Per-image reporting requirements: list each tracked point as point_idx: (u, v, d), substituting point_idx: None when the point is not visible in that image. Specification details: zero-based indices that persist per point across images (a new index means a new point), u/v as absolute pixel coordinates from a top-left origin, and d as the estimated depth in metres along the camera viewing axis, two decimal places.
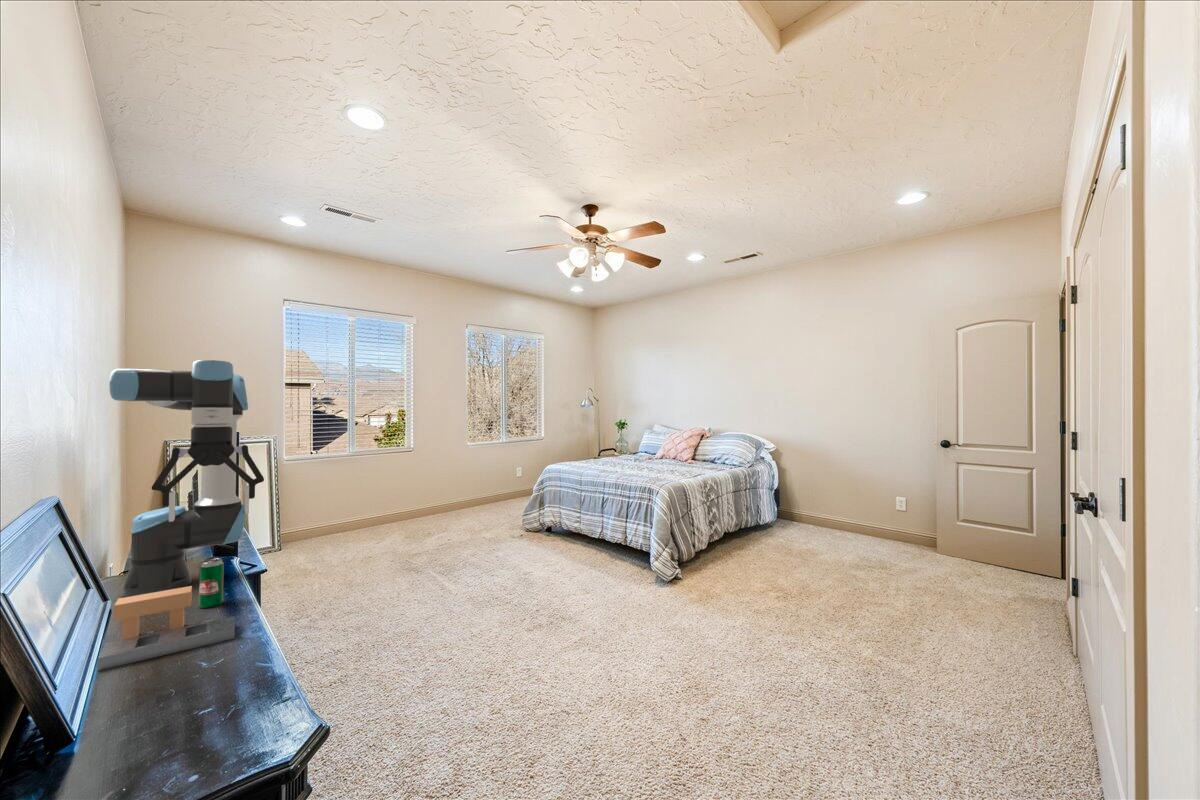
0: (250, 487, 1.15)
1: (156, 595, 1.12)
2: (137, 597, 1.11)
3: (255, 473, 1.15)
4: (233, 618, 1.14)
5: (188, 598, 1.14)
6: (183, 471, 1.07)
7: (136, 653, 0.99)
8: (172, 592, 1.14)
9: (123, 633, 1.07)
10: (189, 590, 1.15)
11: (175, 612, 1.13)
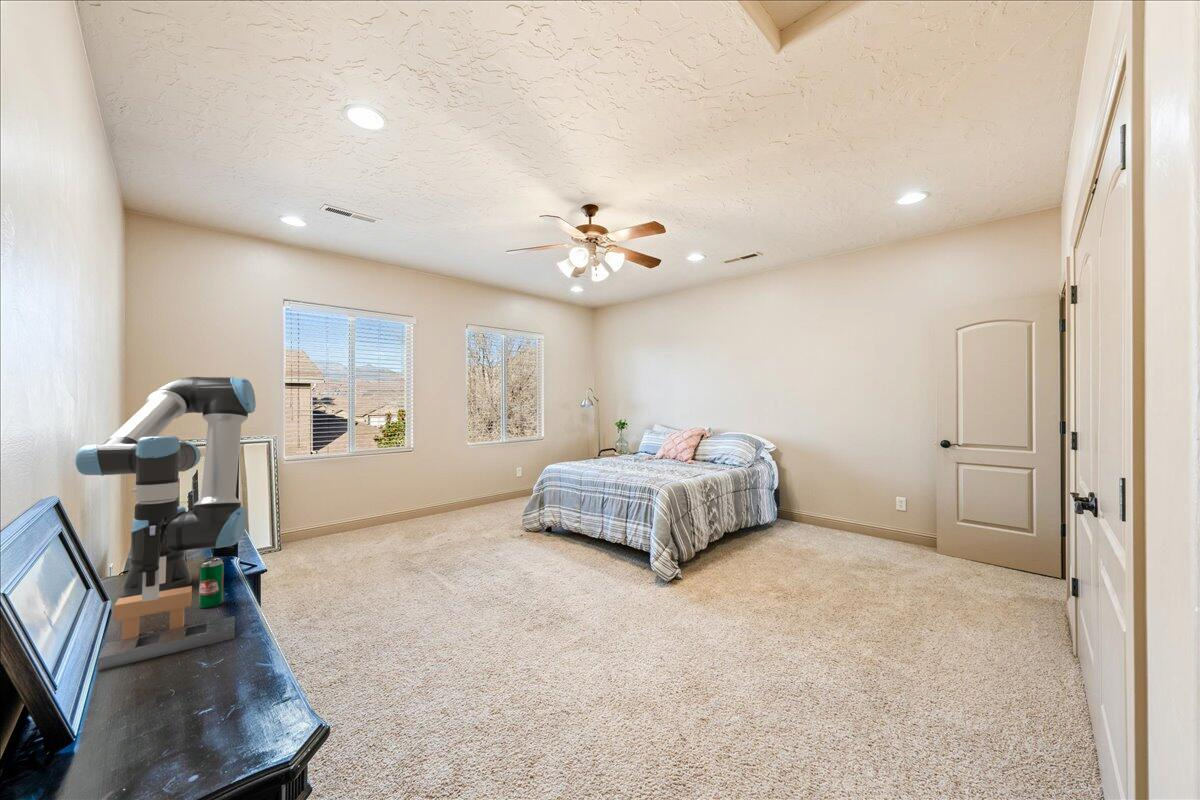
0: None
1: None
2: (137, 597, 1.11)
3: None
4: (233, 618, 1.14)
5: (188, 598, 1.14)
6: None
7: (136, 653, 0.99)
8: (172, 592, 1.14)
9: (123, 633, 1.07)
10: (189, 590, 1.15)
11: (175, 612, 1.13)
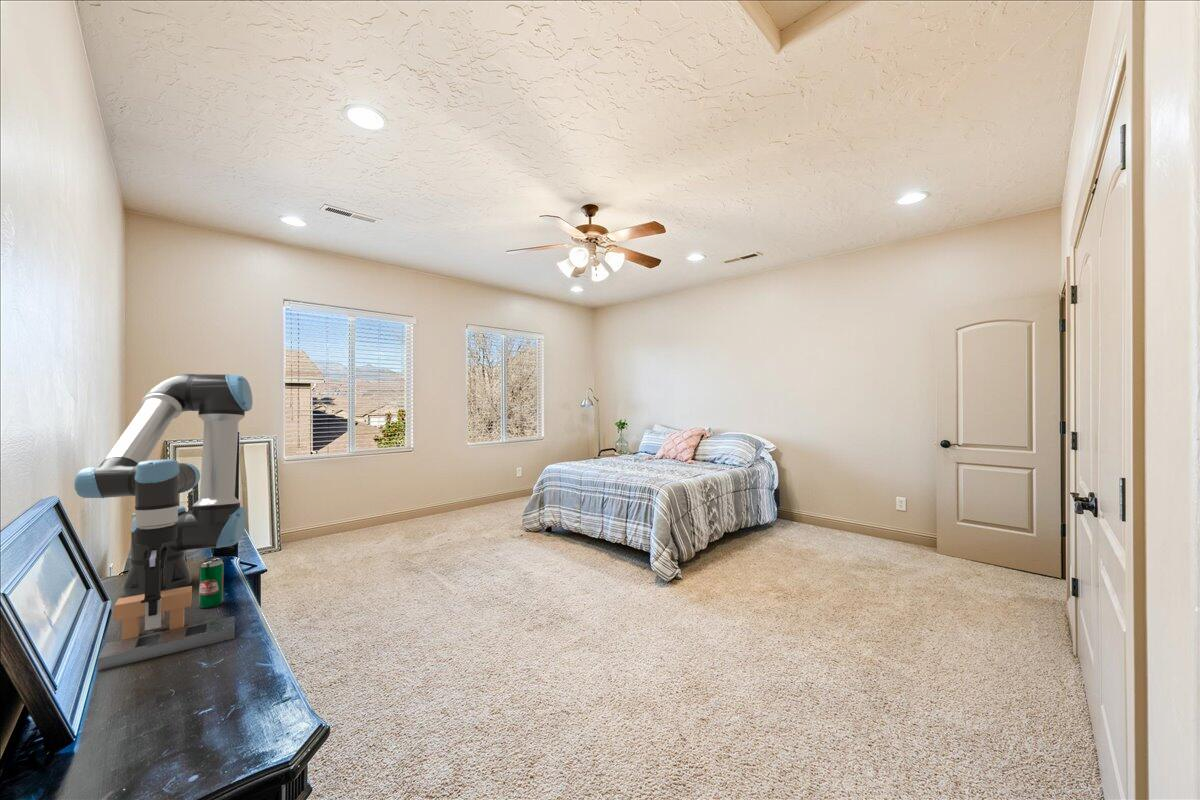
0: (149, 603, 1.09)
1: None
2: (137, 597, 1.11)
3: None
4: (233, 618, 1.14)
5: (188, 598, 1.14)
6: None
7: (136, 653, 0.99)
8: (172, 592, 1.14)
9: (123, 633, 1.07)
10: (189, 590, 1.15)
11: (175, 612, 1.13)
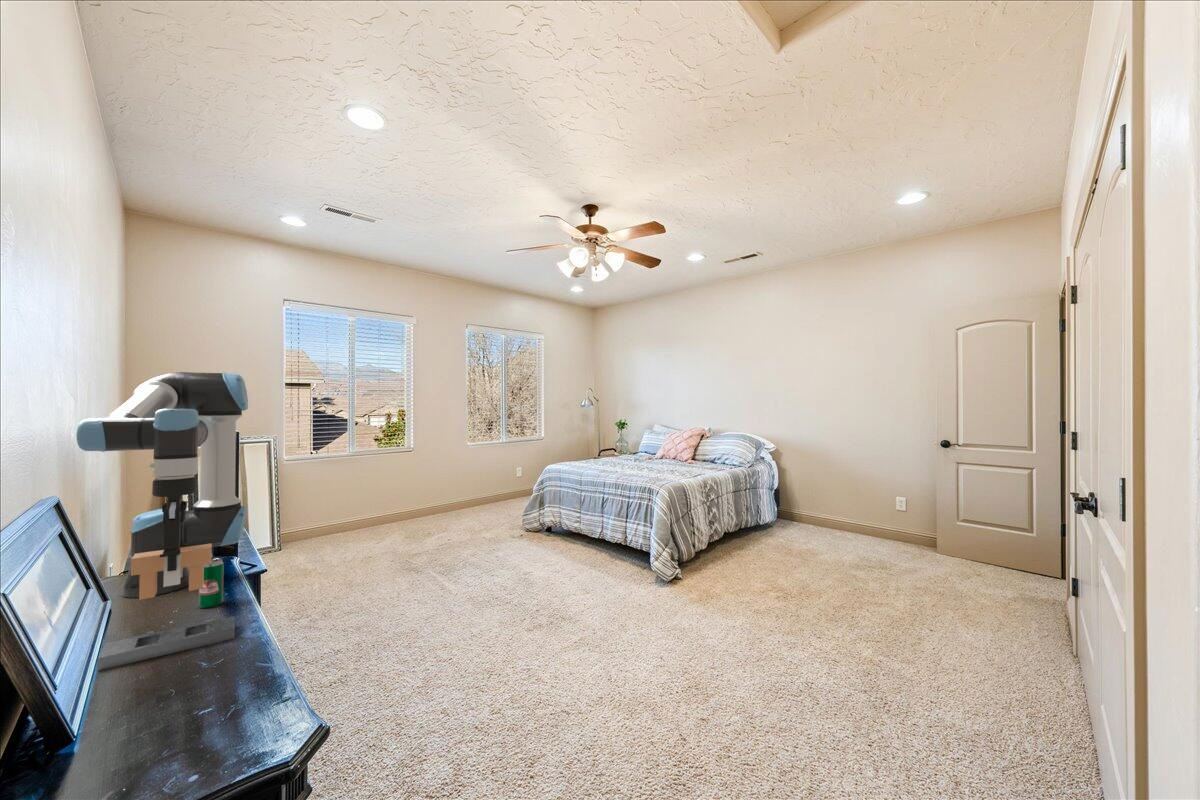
0: (168, 558, 1.03)
1: None
2: (155, 552, 1.04)
3: None
4: (233, 618, 1.14)
5: (208, 555, 1.08)
6: None
7: (136, 653, 0.99)
8: (191, 548, 1.07)
9: (140, 589, 1.01)
10: (209, 547, 1.09)
11: (195, 569, 1.06)
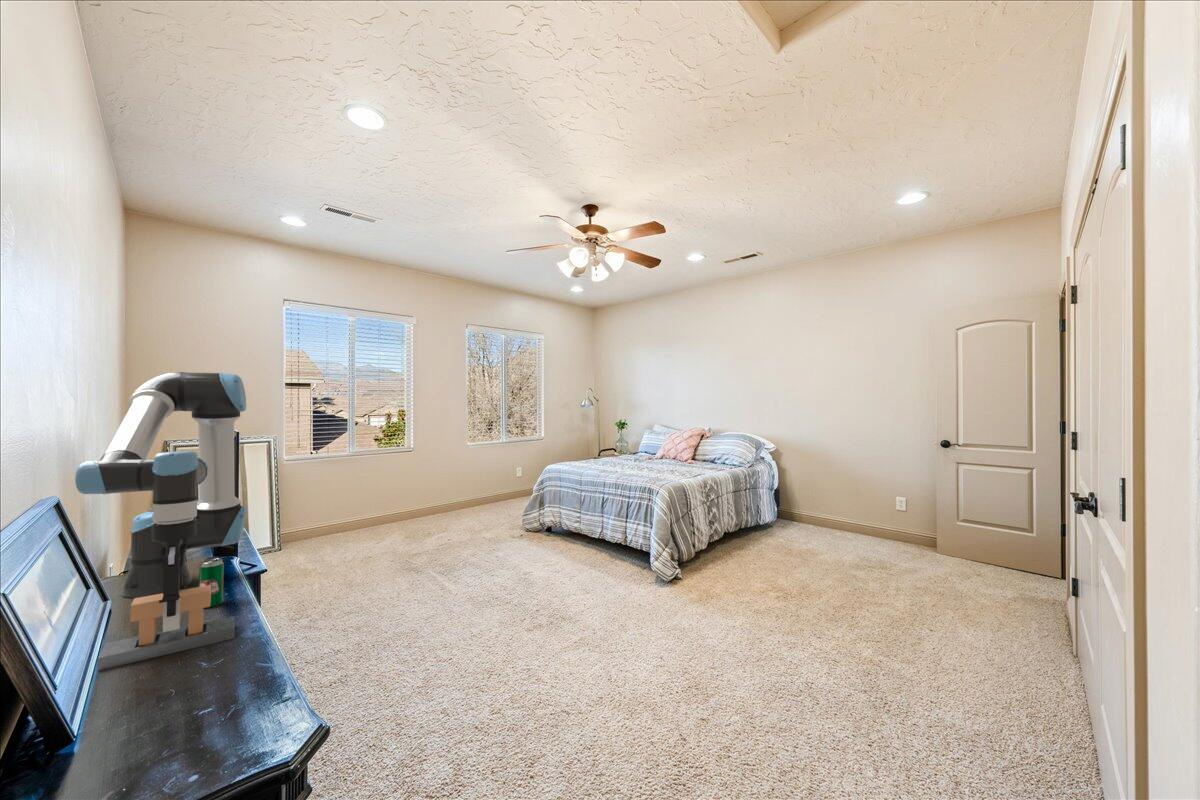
0: None
1: None
2: (155, 597, 1.04)
3: None
4: (233, 618, 1.14)
5: (208, 598, 1.07)
6: None
7: (136, 653, 0.99)
8: (190, 591, 1.07)
9: (140, 635, 1.01)
10: (208, 589, 1.09)
11: (194, 613, 1.06)
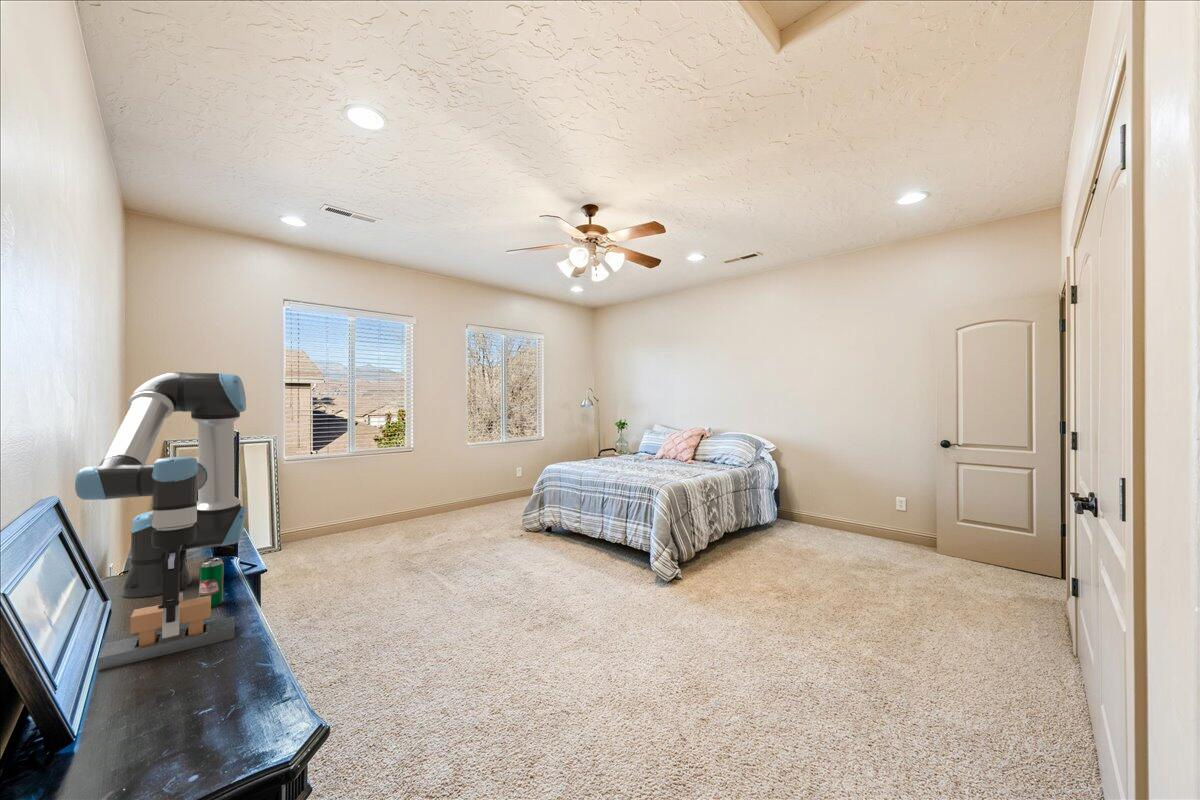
0: None
1: None
2: (154, 608, 1.04)
3: None
4: (233, 618, 1.14)
5: (208, 609, 1.08)
6: None
7: (136, 653, 0.99)
8: (190, 602, 1.07)
9: None
10: (208, 600, 1.09)
11: (194, 624, 1.06)
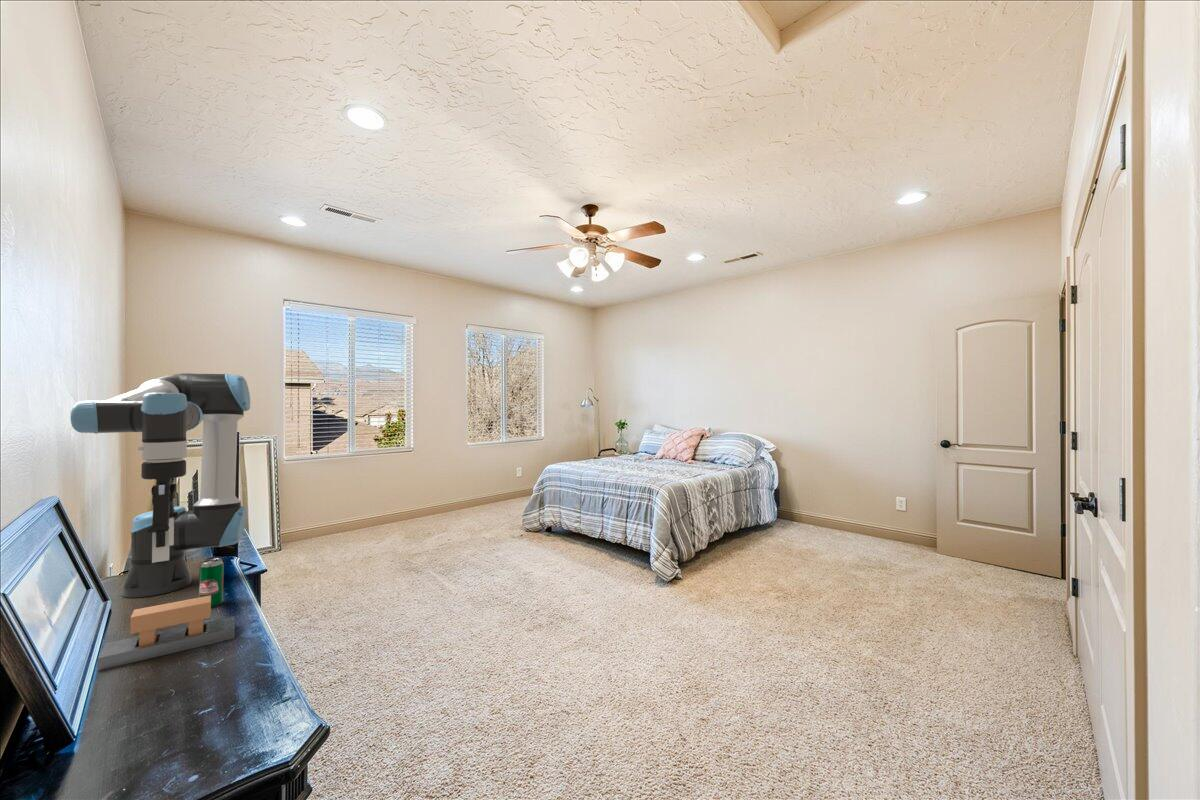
0: None
1: (174, 606, 1.05)
2: (154, 608, 1.04)
3: None
4: (233, 618, 1.14)
5: (208, 609, 1.08)
6: None
7: (136, 653, 0.99)
8: (190, 602, 1.07)
9: None
10: (208, 600, 1.09)
11: (194, 624, 1.06)
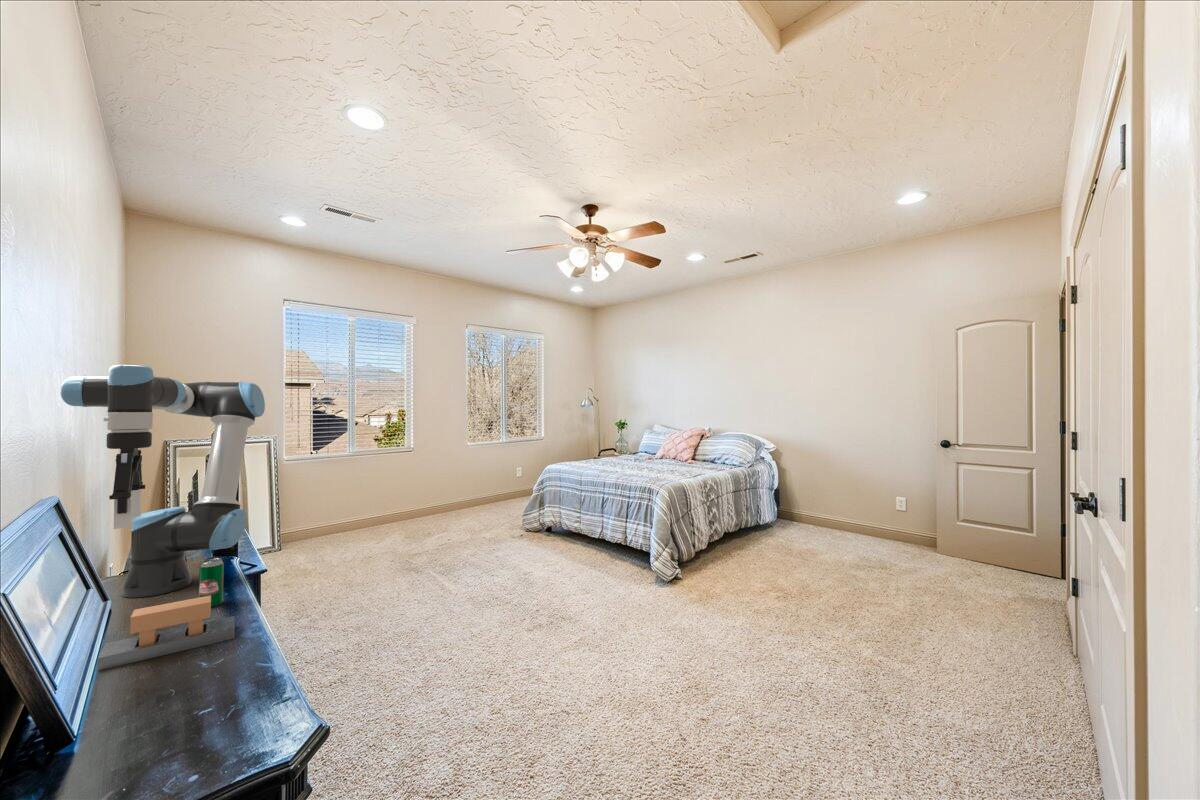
0: None
1: (174, 606, 1.06)
2: (154, 608, 1.04)
3: None
4: (233, 618, 1.14)
5: (208, 609, 1.08)
6: None
7: (136, 653, 0.99)
8: (190, 602, 1.07)
9: None
10: (208, 600, 1.09)
11: (194, 624, 1.06)
